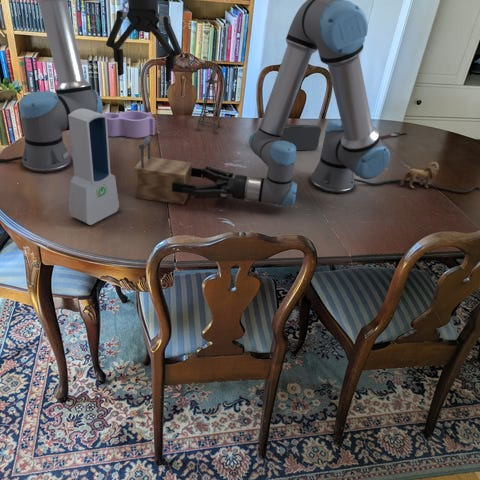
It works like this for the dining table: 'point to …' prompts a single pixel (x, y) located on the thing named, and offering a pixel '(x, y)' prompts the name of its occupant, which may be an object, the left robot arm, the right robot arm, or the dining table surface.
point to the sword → (391, 135)
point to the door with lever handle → (160, 164)
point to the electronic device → (91, 168)
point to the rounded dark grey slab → (302, 136)
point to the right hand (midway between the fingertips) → (177, 178)
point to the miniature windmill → (212, 82)
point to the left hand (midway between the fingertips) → (144, 77)
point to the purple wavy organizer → (130, 124)
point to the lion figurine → (421, 174)
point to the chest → (161, 187)
